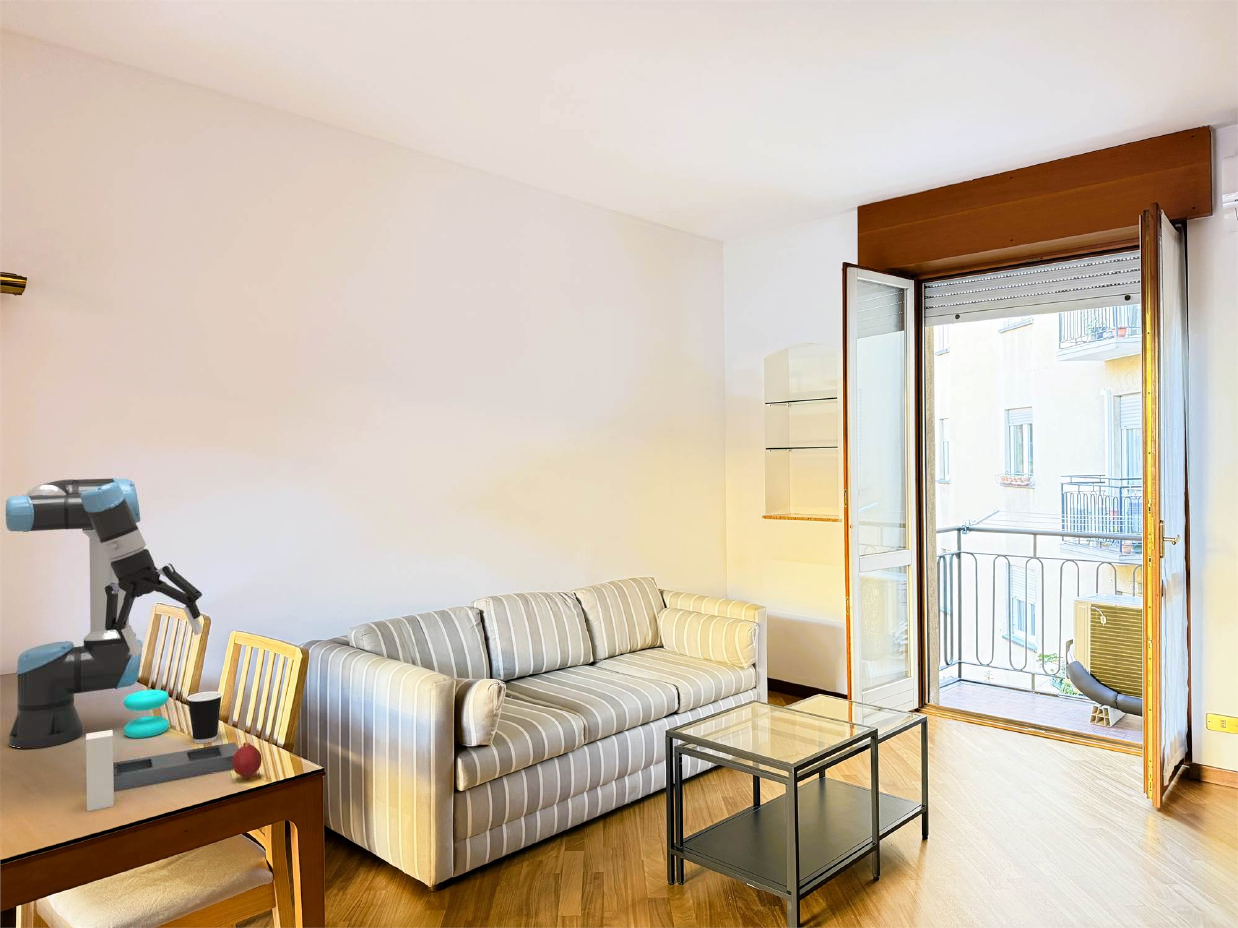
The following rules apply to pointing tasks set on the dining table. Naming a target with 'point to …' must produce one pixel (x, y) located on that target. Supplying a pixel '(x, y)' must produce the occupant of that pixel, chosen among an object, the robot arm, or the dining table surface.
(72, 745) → the dining table surface
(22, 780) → the dining table surface
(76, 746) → the dining table surface
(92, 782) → the peg
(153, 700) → the donuts
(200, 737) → the dixie cup
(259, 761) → the onion
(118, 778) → the gray slotted board
